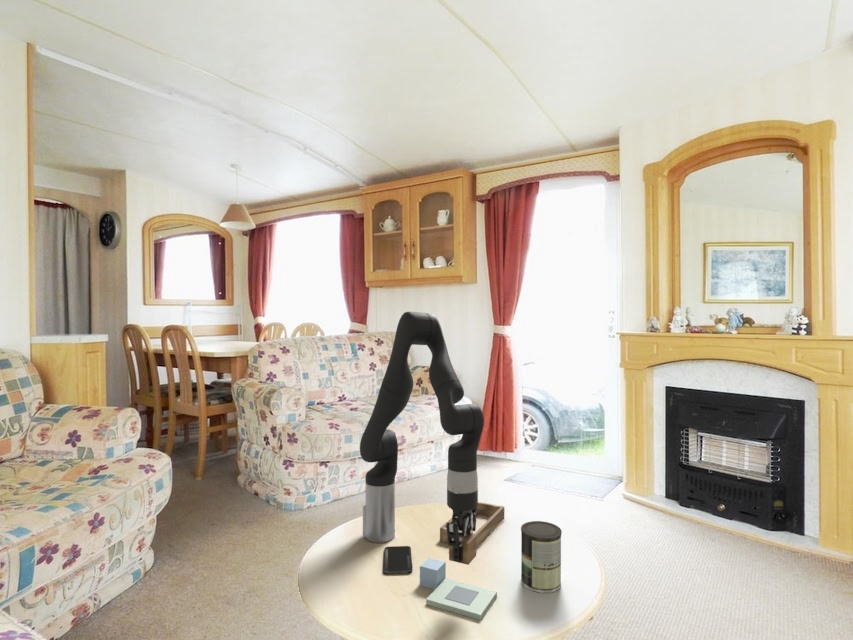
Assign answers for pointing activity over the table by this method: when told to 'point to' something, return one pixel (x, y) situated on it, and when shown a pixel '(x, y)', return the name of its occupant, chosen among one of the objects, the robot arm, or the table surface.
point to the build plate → (462, 598)
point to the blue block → (432, 573)
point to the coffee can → (541, 556)
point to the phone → (397, 560)
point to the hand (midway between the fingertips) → (462, 556)
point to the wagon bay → (495, 518)
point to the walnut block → (466, 549)
